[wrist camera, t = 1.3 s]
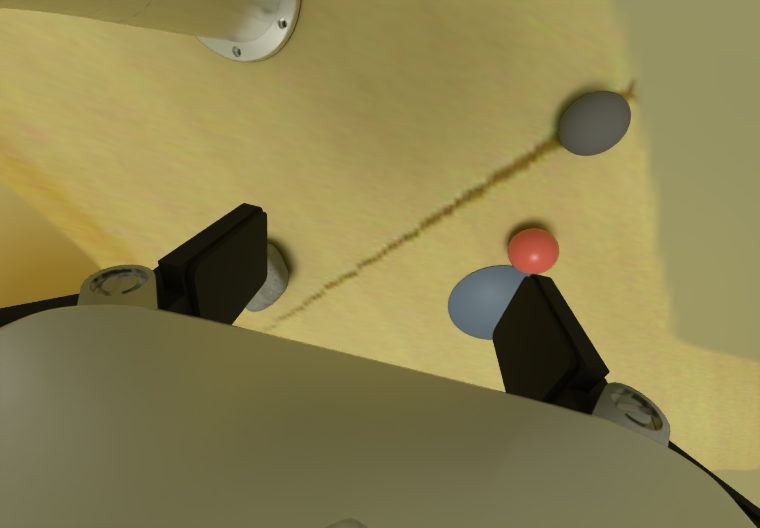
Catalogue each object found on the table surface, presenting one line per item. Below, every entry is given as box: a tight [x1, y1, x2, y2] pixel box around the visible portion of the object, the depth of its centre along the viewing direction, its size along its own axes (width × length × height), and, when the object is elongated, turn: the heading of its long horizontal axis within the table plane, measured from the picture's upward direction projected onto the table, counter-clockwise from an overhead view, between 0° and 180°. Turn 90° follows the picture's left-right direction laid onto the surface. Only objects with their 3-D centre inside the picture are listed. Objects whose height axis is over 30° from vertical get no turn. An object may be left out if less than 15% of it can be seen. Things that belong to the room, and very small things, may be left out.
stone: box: [245, 243, 289, 312], centre depth 43 cm, size 9×9×10 cm
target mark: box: [448, 266, 531, 340], centre depth 44 cm, size 14×14×1 cm
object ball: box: [508, 228, 559, 274], centre depth 36 cm, size 6×6×6 cm
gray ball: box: [559, 91, 631, 156], centre depth 28 cm, size 6×6×6 cm
